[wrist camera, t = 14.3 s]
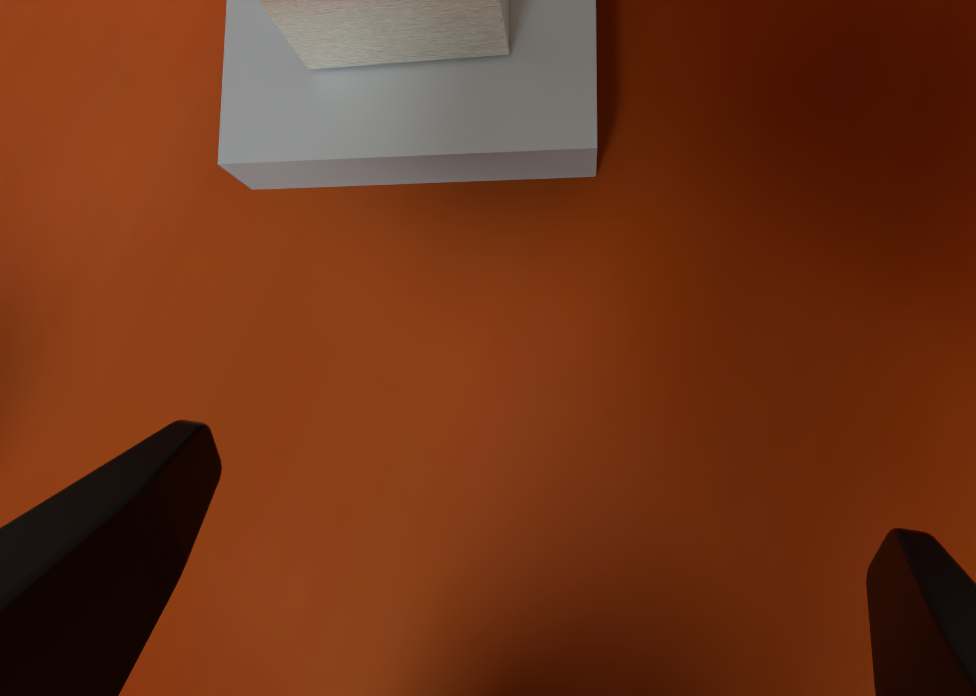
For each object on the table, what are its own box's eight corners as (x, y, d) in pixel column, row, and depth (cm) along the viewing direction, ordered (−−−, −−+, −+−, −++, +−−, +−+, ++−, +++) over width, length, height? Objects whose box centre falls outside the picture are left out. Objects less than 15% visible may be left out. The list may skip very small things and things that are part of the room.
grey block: (595, 182, 25) (597, 148, 22) (259, 194, 26) (217, 164, 23) (592, -141, 26) (593, -215, 23) (274, -111, 28) (236, -176, 25)
